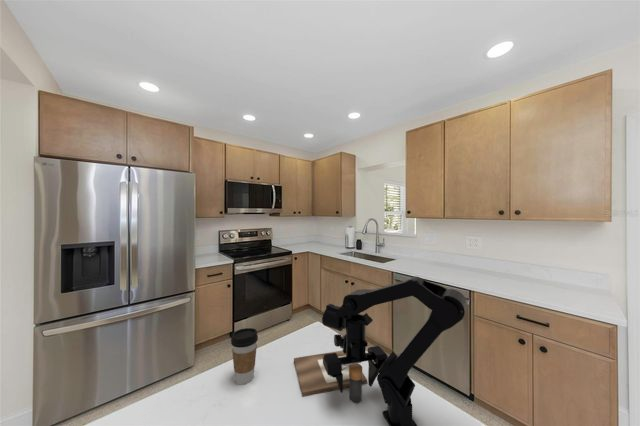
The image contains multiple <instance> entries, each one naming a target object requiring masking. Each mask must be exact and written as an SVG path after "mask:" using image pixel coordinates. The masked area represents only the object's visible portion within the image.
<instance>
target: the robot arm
mask: <svg viewBox="0 0 640 426" xmlns="http://www.w3.org/2000/svg"><path fill="white" fill-rule="evenodd" d="M410 297H413V298H415V299H417V300H418V301H419V302H420V303H422V304H423V305H424V307H426V308H428V309H430V310H431V312H430V314H429V317H428V318H427V320H426V321H425V322H424V323H423V325H422V326H421V327H420V328H419V330H418V331H417V332H416V333H415V335H414V336H413V337H412V338H411V339H410V341H408V344H406V346H405V347H404V348H403V349H402V351H401V352H400V353H397V354H396V353H395V351H394V350H392V351H391V352H390V354H389V355H388V354H387V353H386V351H384V350H383V349H382V347H381V346H380V345H375V346H369V345H368V341H367V340H366V339H367V338H366V332H367V331H366V327H368V326H369V325H370V324H371V323H373V321H374V320H373V319H372V317H371V316H370V315H369V314H368V313H367V312H366V313H364V314H361V313H363V312H365V311H367V310H368V309H370V308H371V307H374V306H378V305H381V304H384V303H385V304H386V303H389V302H393V301H397V300H402V299H404V298H405V299H406V298H410ZM342 299H343V300H342V305H341V306H338V305H335V304H333V303H329V304H327V305H326V306H325V310H324V311H323V313H322V316H321V323H322V325H323V327H328V328H330V329H334V330H335V331H338V332H342V331H343V330H344V329H345V334H344V335H341V334H333V342H334V343H333V344H334V346H335V347H336V348H338V347H340V349H342V350H343V353H344V354H345V353H346V357H340V358H338V356H337V354H336V353H330V352H329V353H330V354H325V355H324V357H323V365H324V367H325V369H326V372H327V374H328V375H330V376H332V377H333V378H335V377H336V380H337V383H338V387H339V389H338V390H339V392H340V393H341V394H342V393H343V389H344V388H343V374H342V372H341V371H342V366H345V365H351V364H356V363H358V364H361V363H363V362H368V373H367V374H368V375H367V384H368V386H369V387H370V388H372V386H373V385H374V383H375V380H376V381H377V385H378V386H379V388H380V391H381V394H382V397H383V399H384V403H385V404H386V405H387V407H386V408H387V409H386V410H382V416H383V417H384V419H385V420H386V422H387V424H388V425H389V426H418V424H417V423H416V422H415V421H414V419H413V404H412V394H413V392H414V389H415V387H416V384H415V382H414V381H413V380H412V378H411V377H410V376H409V372H410V370H412V368H413V366H415V365H416V363H417V362H418V361H419V360H420V359H421V357H422V356H424V354H425V352H426V351H427V350H428V349H429V348H430V347H431V345H433V344H434V342H435V341H436V340H437V339H438V338H439V336H440V335H441V334H442V333H443V332H446V331H448V330H450V329H451V328H453V327H454V326H456V325H457V324H458V323H460V322H461V321H462V320H463V319H464V317H465V314H466V310H467V306H468V302H467V298H466V297H465V295H464V294H463V293H462V292H460V291H459V290H457V289H454V288H450V289H448V288H446V287H444V286H442V285H440V284H437V283H434V282H430V281H428V280H425V279H423V278H421V277H419V276H413V277H412V276H411V278H408V279H405V280H401V281H399V282H395V283H392V284H388V285H385V286H382V287H377V288H375V289H366V288H365V289H364V288H363V289H356V290H355V291H352V292H349V294H347V295H345V296H344V297H343V298H342ZM368 346H369V347H368ZM367 347H368V348H367ZM366 348H367V352H366Z"/></svg>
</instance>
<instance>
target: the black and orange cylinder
mask: <svg viewBox="0 0 640 426" xmlns="http://www.w3.org/2000/svg"><path fill="white" fill-rule="evenodd" d="M362 373H363V366H362V365H361V363H356V364H351V365H349V387H348V388H349V390H348V391H349V392H348V393H349V394H348V396H349V397H348V398H349V401H351V402H352V403H354V404H358V403H361V402H362V400H363V398H362V397H363V393H362V392H363V390H362V389H363V387H362V385H363V384H362Z"/></svg>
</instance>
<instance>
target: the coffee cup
mask: <svg viewBox="0 0 640 426" xmlns="http://www.w3.org/2000/svg"><path fill="white" fill-rule="evenodd" d="M258 336H259V335H258V331H257V329H256V328H251V327H247V328H242V329H241V328H240V329H237V330H235V331H234V332H233V333H232V337H231V339H230V340H231V341H230V343H231V346H232V348H231V351H232V361H233V362H232V363H233V371H234V372H233V373H234V382H235V383H236V384H237V385H246V384H249V383H250V382H252V381H253V379H254V378H255V367H256V357H257V347H258V344H257V341H259V337H258Z"/></svg>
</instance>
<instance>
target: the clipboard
mask: <svg viewBox="0 0 640 426" xmlns="http://www.w3.org/2000/svg"><path fill="white" fill-rule="evenodd" d="M330 353H336V354H337V356H338V358H340V357H346V353H345V354H344V353H343V349H342V350H337V351H330V352H325V353H319V354H311V355H306V356H298V357H293V365H294V367H295V373H296V375H297V379H298V380H297V381H298V384H299V389H300V392H301V396H302V397H308V396H311V395H312V396H313V395H318V394H322V393H327V392H332V391H336V390H337V391H338V390H339V387H338V383H337V380H336V377H335V378H333V377H332V376H330V375H328V374H327V372H326V369H325V367H324V365H323V357H324V355H325V354H330ZM341 372H342V374H343V389H347V388H349V365H345V366H342V371H341ZM365 384H368V378H367V376H365V374H364V372H362V385H365Z"/></svg>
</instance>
